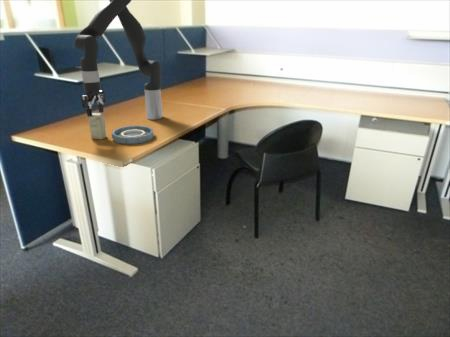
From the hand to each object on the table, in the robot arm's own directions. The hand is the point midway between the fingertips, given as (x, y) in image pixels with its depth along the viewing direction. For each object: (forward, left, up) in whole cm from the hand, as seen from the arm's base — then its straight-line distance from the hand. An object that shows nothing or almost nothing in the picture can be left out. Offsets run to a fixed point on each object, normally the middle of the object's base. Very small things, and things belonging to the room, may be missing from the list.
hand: (95, 114), depth 168 cm
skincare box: (0, 0, -12) cm, 12 cm away
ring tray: (-6, +16, -12) cm, 21 cm away
